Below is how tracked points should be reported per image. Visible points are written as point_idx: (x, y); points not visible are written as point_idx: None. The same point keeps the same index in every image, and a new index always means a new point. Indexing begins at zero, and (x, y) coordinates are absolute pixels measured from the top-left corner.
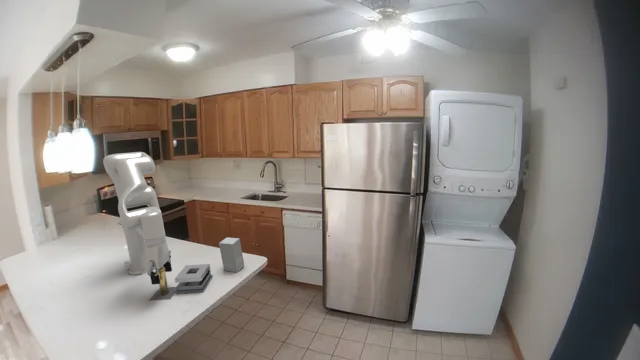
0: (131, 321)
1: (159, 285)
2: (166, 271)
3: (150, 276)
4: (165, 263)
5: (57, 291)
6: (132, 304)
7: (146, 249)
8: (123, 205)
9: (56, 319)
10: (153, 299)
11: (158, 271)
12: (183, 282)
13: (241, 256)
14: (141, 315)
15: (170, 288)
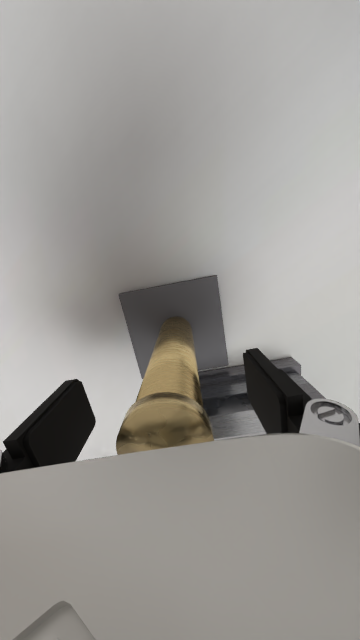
0: (5, 317)
1: (156, 343)
2: (245, 370)
3: (11, 435)
4: (290, 428)
5: None
6: (87, 229)
7: None
8: None
9: None
10: (129, 311)
11: (121, 443)
12: (218, 414)
13: None
14: (42, 329)
15: (213, 332)
